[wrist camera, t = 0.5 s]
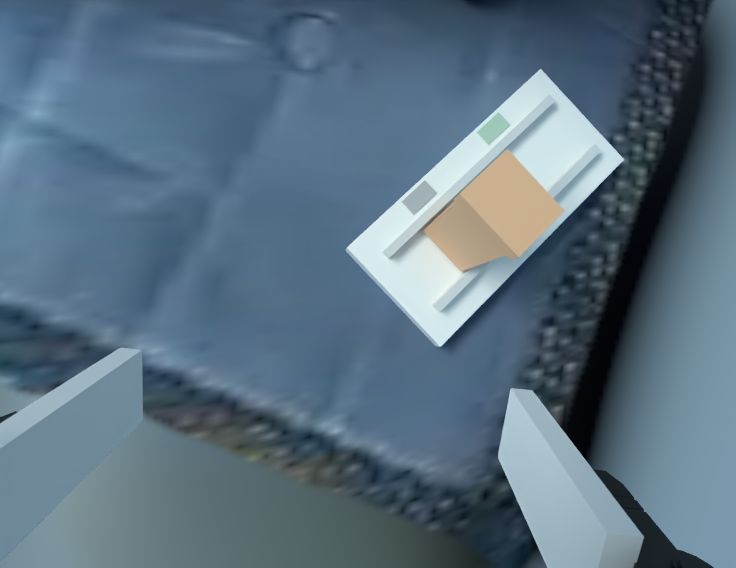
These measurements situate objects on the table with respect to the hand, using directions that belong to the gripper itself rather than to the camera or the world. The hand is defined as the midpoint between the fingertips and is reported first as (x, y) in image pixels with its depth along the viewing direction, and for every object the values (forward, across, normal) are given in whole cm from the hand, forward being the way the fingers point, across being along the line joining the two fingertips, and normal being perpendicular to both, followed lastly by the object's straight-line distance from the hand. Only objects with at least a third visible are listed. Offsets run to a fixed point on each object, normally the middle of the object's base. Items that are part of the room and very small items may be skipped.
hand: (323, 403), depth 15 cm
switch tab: (+25, +9, +4) cm, 27 cm away
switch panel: (+29, +12, +7) cm, 32 cm away
